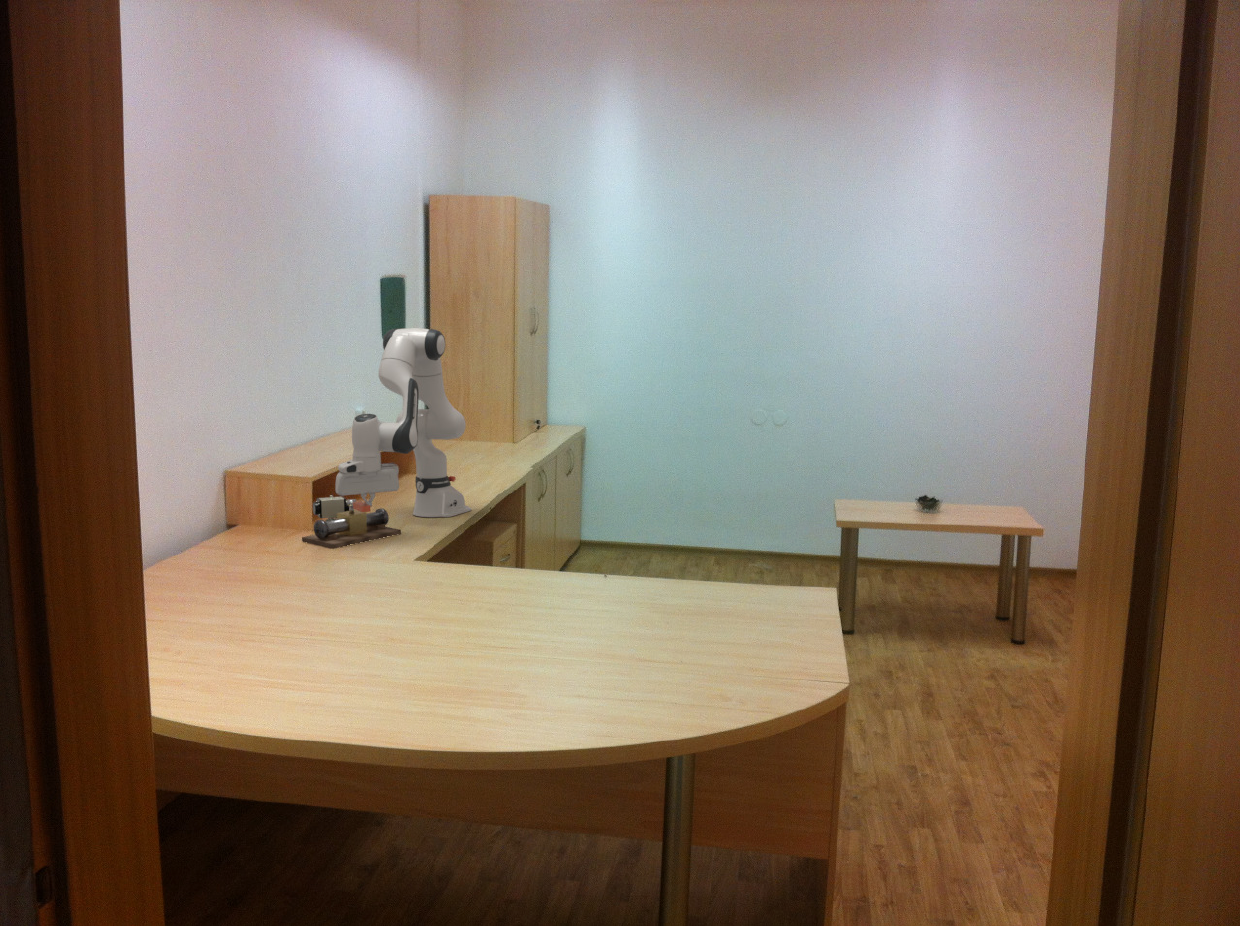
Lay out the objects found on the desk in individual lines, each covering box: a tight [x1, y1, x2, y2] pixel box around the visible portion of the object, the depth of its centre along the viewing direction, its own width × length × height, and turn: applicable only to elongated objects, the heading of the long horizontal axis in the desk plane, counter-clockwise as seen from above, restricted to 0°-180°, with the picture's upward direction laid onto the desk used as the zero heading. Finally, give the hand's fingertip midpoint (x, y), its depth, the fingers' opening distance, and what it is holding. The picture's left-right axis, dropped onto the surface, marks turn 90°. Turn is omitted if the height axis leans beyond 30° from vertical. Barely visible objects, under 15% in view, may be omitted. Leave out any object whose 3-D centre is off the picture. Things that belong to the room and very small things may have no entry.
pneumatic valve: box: [312, 494, 349, 521], centre depth 355 cm, size 6×12×12 cm, turn 117°
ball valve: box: [313, 506, 389, 539], centre depth 343 cm, size 26×6×9 cm, turn 143°
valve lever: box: [346, 498, 372, 513], centre depth 337 cm, size 14×3×2 cm, turn 35°
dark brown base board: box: [301, 524, 402, 550], centre depth 343 cm, size 28×16×3 cm, turn 143°
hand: (368, 506), depth 336 cm, fingers closed
